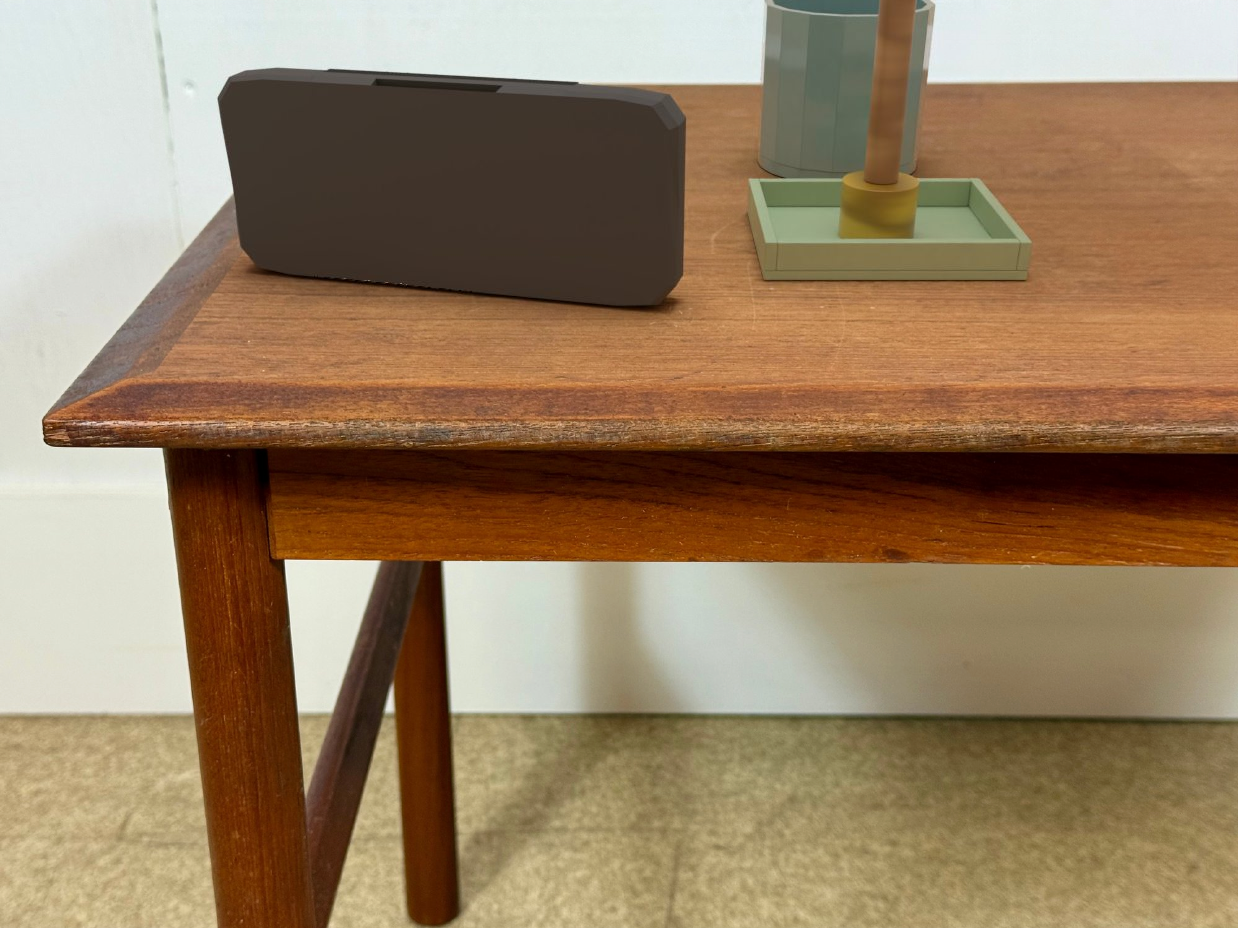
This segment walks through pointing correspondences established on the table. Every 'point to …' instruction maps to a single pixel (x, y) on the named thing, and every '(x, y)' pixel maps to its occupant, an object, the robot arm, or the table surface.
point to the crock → (830, 86)
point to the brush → (884, 139)
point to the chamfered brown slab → (459, 182)
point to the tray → (940, 250)
